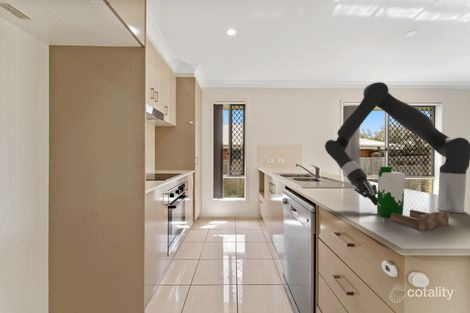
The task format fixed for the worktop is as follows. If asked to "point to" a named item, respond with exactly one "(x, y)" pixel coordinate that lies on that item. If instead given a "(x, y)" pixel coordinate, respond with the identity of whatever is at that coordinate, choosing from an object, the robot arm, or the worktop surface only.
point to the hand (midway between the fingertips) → (378, 204)
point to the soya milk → (390, 192)
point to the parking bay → (422, 219)
